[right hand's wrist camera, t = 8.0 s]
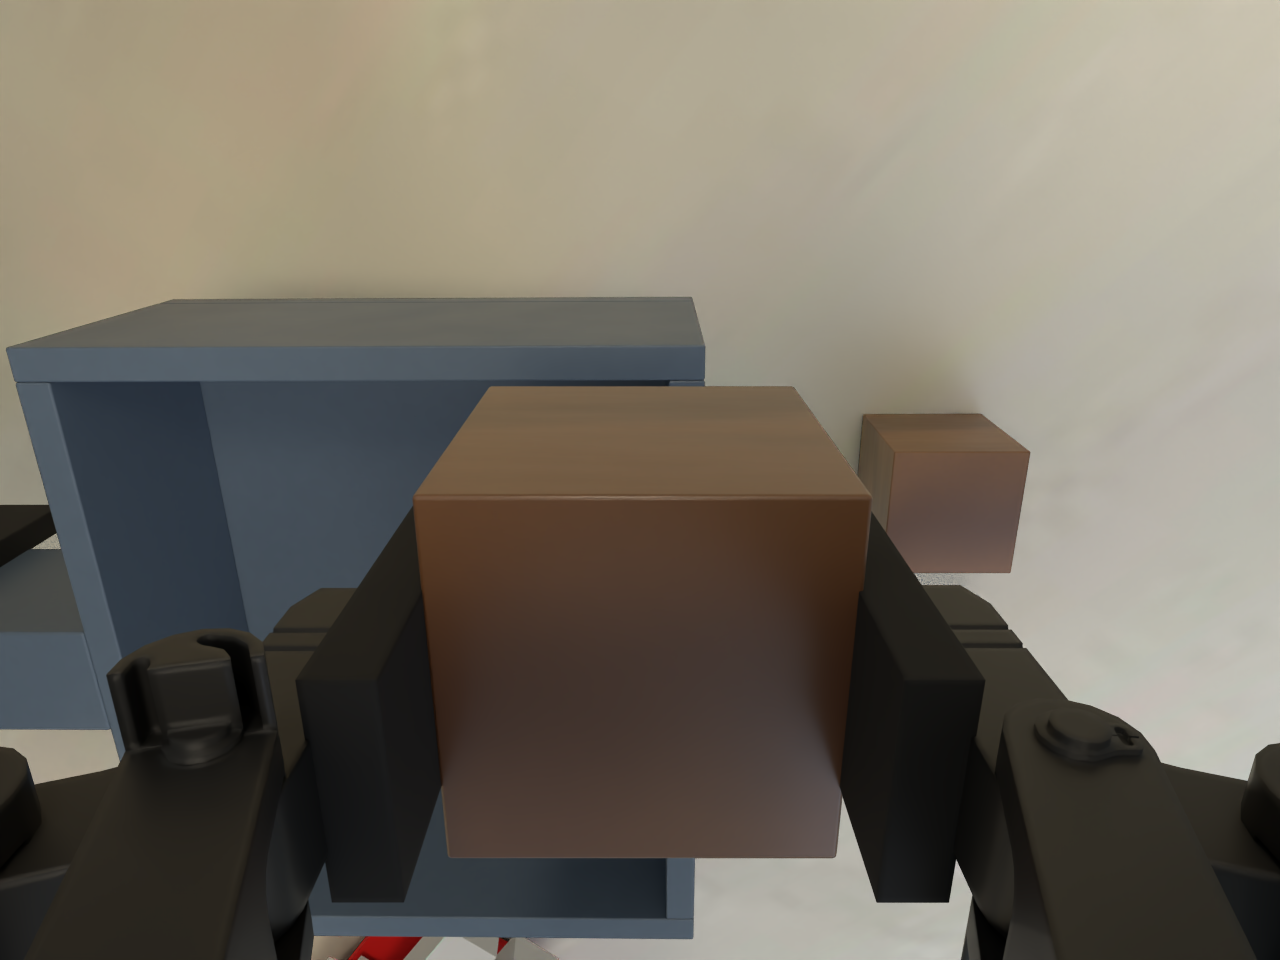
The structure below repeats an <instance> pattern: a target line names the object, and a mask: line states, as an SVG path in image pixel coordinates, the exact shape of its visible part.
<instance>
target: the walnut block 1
mask: <svg viewBox="0 0 1280 960" xmlns="http://www.w3.org/2000/svg"><path fill="white" fill-rule="evenodd" d="M412 501H413V511H414V521H415V531H416V542H417V552H418V562H419V572H420V582H421V590H422V596H423V606H424V616H425V627H426V637H427V647H428V657H429V667H430V677H431V687H432V697H433V707H434V718H435V728H436V738H437V748H438V758H439V768H440V778H441V794H442V805H443V815H444V825H445V835H446V845H447V854H448V856H449V857H450V858H834V857H835V856H836V853H837V844H838V834H839V825H840V815H841V805H842V793H841V790H840V779H841V768H842V758H843V748H844V738H845V728H846V718H847V708H848V698H849V688H850V678H851V668H852V658H853V648H854V638H855V628H856V618H857V608H858V598H859V591H863V589H864V579H865V569H866V560H867V550H868V540H869V530H870V520H871V511H872V501H873V499H872V496H871V494H870V493H869V491H868V490H867V489H866V487H865V486H864V484H863V483H862V482H861V480H860V479H859V477H858V476H857V475H856V473H855V472H854V470H853V469H852V468H851V466H850V465H849V463H848V462H847V461H846V459H845V458H844V456H843V455H842V454H841V452H840V451H839V449H838V448H837V447H836V445H835V444H834V442H833V441H832V440H831V438H830V437H829V435H828V434H827V433H826V431H825V430H824V429H823V427H822V426H821V424H820V423H819V422H818V420H817V419H816V417H815V416H814V415H813V413H812V412H811V410H810V409H809V408H808V406H807V405H806V403H805V402H804V401H803V399H802V398H801V396H800V395H799V394H798V392H797V391H796V389H795V388H794V387H792V386H491V387H489V388H488V390H487V391H486V393H485V394H484V395H483V397H482V398H481V400H480V401H479V403H478V404H477V405H476V407H475V408H474V410H473V411H472V413H471V414H470V415H469V417H468V418H467V420H466V421H465V423H464V424H463V425H462V427H461V428H460V430H459V431H458V433H457V434H456V435H455V437H454V438H453V440H452V441H451V443H450V444H449V445H448V447H447V448H446V450H445V451H444V452H443V454H442V455H441V457H440V458H439V460H438V461H437V462H436V464H435V465H434V467H433V468H432V470H431V471H430V472H429V474H428V475H427V477H426V478H425V480H424V481H423V482H422V484H421V485H420V487H419V488H418V490H417V491H416V492H415V494H414V495H413V498H412Z"/></svg>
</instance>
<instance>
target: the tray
mask: <svg viewBox="0 0 1280 960" xmlns="http://www.w3.org/2000/svg"><path fill="white" fill-rule="evenodd" d="M6 352H7V355H8V359H9V362H10V366H11V370H12V373H13V377H14V380H15V382H17V383H16V387H17V391H18V394H19V398H20V402H21V405H22V409H23V413H24V416H25V420H26V423H27V427H28V431H29V434H30V438H31V442H32V445H33V449H34V452H35V456H36V460H37V463H38V467H39V470H40V474H41V478H42V481H43V485H44V489H45V492H46V496H47V499H48V503H49V507H50V510H51V514H52V517H53V521H54V525H55V528H56V532H57V536H58V539H59V543H60V546H61V549H29V550H27V551H26V552H24V553H23V554H21V555H19V556H18V557H16V558H15V559H13V560H11V561H10V562H8V563H6V564H5V565H3V566H2V567H0V729H47V730H108V729H111V731H112V734H113V738H114V742H115V745H116V749H117V753H118V756H119V760H120V761H121V759H122V757H123V755H124V753H125V748H124V744H123V740H122V736H121V732H120V728H119V724H118V721H117V717H116V713H115V709H114V705H113V701H112V697H111V693H110V689H109V685H108V681H107V677H106V674H107V673H108V672H109V671H110V670H111V669H112V668H113V667H114V666H115V665H116V664H117V663H118V662H119V661H120V660H121V659H122V658H124V657H126V656H127V655H129V654H131V653H132V652H134V651H136V650H138V649H139V648H141V647H143V646H144V645H147V644H150V643H152V642H155V641H158V640H161V639H163V638H166V637H169V636H172V635H175V634H180V633H185V632H190V631H195V630H200V629H221V628H231V629H235V630H240V631H245V632H249V633H251V634H253V635H254V636H255V637H257V638H258V639H259V640H261V641H262V642H263V641H264V639H265V638H266V637H267V636H268V634H269V633H273V628H274V627H275V625H276V624H277V623H278V622H279V620H280V619H281V618H282V617H283V615H284V614H285V613H286V612H287V610H288V609H289V608H290V607H291V606H292V605H294V604H296V603H297V602H299V601H300V600H302V599H304V598H305V597H307V596H309V595H310V594H312V593H313V592H315V591H317V590H318V589H320V588H358V586H359V585H360V583H361V582H362V580H363V579H364V577H365V576H366V574H367V573H368V571H369V570H370V568H371V567H372V565H373V564H374V562H375V561H376V559H377V558H378V556H379V555H380V554H381V552H382V551H383V549H384V548H385V546H386V545H387V543H388V542H389V540H390V539H391V537H392V536H393V534H394V533H395V531H396V530H397V528H398V527H399V525H400V524H401V522H402V521H403V519H404V518H405V516H406V515H407V514H408V512H409V511H410V509H411V508H412V506H413V501H412V498H413V495H414V494H415V492H416V491H417V490H418V488H419V487H420V485H421V484H422V482H423V481H424V480H425V478H426V477H427V475H428V474H429V472H430V471H431V470H432V468H433V467H434V465H435V464H436V462H437V461H438V460H439V458H440V457H441V455H442V454H443V452H444V451H445V450H446V448H447V447H448V445H449V444H450V443H451V441H452V440H453V438H454V437H455V435H456V434H457V433H458V431H459V430H460V428H461V427H462V425H463V424H464V423H465V421H466V420H467V418H468V417H469V415H470V414H471V413H472V411H473V410H474V408H475V407H476V405H477V404H478V403H479V401H480V400H481V398H482V397H483V395H484V394H485V393H486V391H487V390H488V388H489V387H491V386H705V382H704V378H705V344H704V340H703V336H702V333H701V329H700V325H699V322H698V318H697V314H696V310H695V307H694V303H693V300H692V297H583V298H374V299H173V300H170V301H166V302H163V303H160V304H156V305H152V306H149V307H145V308H142V309H138V310H135V311H131V312H128V313H124V314H121V315H118V316H114V317H111V318H107V319H104V320H100V321H97V322H93V323H90V324H86V325H83V326H80V327H76V328H73V329H69V330H66V331H62V332H59V333H55V334H52V335H48V336H45V337H42V338H38V339H35V340H31V341H28V342H24V343H21V344H17V345H14V346H10V347H7V348H6ZM694 877H695V858H450V857H449V856H448V854H447V845H446V835H445V825H444V815H443V805H442V794H441V789H440V792H439V795H438V798H437V801H436V804H435V808H434V811H433V814H432V817H431V820H430V823H429V826H428V829H427V832H426V836H425V839H424V842H423V845H422V848H421V851H420V854H419V857H418V860H417V863H416V867H415V870H414V873H413V876H412V879H411V882H410V885H409V888H408V891H407V895H406V898H405V901H404V903H332V901H331V895H330V889H329V883H328V877H327V871H326V864H325V863H324V865H323V867H322V870H321V872H320V874H319V876H318V878H317V881H316V883H315V885H314V887H313V890H312V892H311V894H310V896H309V898H308V900H309V906H310V912H311V917H312V925H313V932H314V936H398V937H510V938H622V939H693V926H694Z"/></svg>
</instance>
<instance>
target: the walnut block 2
mask: <svg viewBox="0 0 1280 960" xmlns="http://www.w3.org/2000/svg"><path fill="white" fill-rule="evenodd" d="M1029 457H1030V451H1028V450H1027V449H1026V448H1025V447H1023V446H1022V445H1021V444H1019V443H1018V442H1017V441H1016V440H1014V439H1013V438H1012V437H1010V436H1009V435H1008V434H1007V433H1005V432H1004V431H1003V430H1001V429H1000V428H999V427H997V426H996V425H995V424H994V423H992V422H991V421H990V420H988V419H987V418H986V417H985V416H983V415H982V414H864V415H863V423H862V434H861V445H860V457H859V468H858V477H859V479H860V480H861V482H862V483H863V484H864V486H865V487H866V489H867V490H868V491H869V493H870V494H871V496H872V499H873V501H872V512H873V514H874V515H875V517H876V518H877V520H878V521H879V523H880V524H881V526H882V527H883V529H884V530H885V532H886V533H887V535H888V536H889V538H890V539H891V541H892V542H893V544H894V545H895V547H896V548H897V550H898V551H899V552H900V554H901V555H902V557H903V558H904V560H905V561H906V563H907V564H908V566H909V567H910V569H911V570H912V572H913V573H1010V572H1011V566H1012V560H1013V554H1014V548H1015V542H1016V536H1017V530H1018V524H1019V518H1020V512H1021V506H1022V500H1023V494H1024V487H1025V481H1026V475H1027V469H1028V463H1029Z"/></svg>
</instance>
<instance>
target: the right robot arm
mask: <svg viewBox="0 0 1280 960" xmlns="http://www.w3.org/2000/svg"><path fill="white" fill-rule="evenodd" d="M1022 644H1023V643H1022V642H1021V641H1020V640H1019V638H1018V637H1017V636H1016V635H1015V633H1014V632H1013V631H1012V630H1008V625H1007V624H1006V622H1005V621H1004V620H1003V619H1002V617H1001V616H1000V615H999V614H998V612H997V611H996V610H995V609H994V607H993V606H992V605H991V604H990V603H989V602H987V601H985V600H984V599H982V598H980V597H979V596H977V595H975V594H974V593H972V592H971V591H969V590H967V589H966V588H964V587H962V586H961V585H921V584H920V582H919V581H918V579H917V578H916V576H915V575H914V573H913V572H912V570H911V569H910V567H909V566H908V564H907V563H906V561H905V560H904V558H903V557H902V555H901V554H900V552H899V551H898V550H897V548H896V547H895V545H894V544H893V542H892V541H891V539H890V538H889V536H888V535H887V533H886V532H885V530H884V529H883V527H882V526H881V524H880V523H879V521H878V520H877V518H876V517H875V515H874V514H873V512H872V511H871V520H870V530H869V540H868V550H867V560H866V569H865V579H864V589H863V591H859V598H858V608H857V618H856V628H855V638H854V648H853V658H852V668H851V678H850V688H849V698H848V708H847V718H846V728H845V738H844V748H843V758H842V768H841V779H840V790H841V793H842V796H843V799H844V802H845V805H846V809H847V812H848V815H849V818H850V821H851V824H852V827H853V830H854V833H855V837H856V840H857V843H858V846H859V849H860V852H861V855H862V858H863V861H864V865H865V868H866V871H867V874H868V877H869V880H870V883H871V886H872V889H873V893H874V896H875V899H876V902H877V903H949V899H950V893H951V887H952V881H953V875H954V869H955V863H956V860H957V862H958V864H959V866H960V868H961V870H962V873H963V875H964V877H965V879H966V881H967V884H968V886H969V888H970V890H971V892H972V894H973V895H972V900H971V906H970V912H969V917H968V923H967V929H966V934H965V940H964V946H963V951H962V957H961V960H1280V743H1278V744H1271V745H1268V746H1266V747H1265V748H1264V749H1262V750H1261V751H1260V752H1259V753H1257V754H1256V756H1255V759H1254V762H1253V765H1252V769H1251V772H1250V775H1249V779H1248V781H1245V780H1240V779H1235V778H1230V777H1225V776H1220V775H1215V774H1210V773H1205V772H1200V771H1195V770H1190V769H1185V768H1180V767H1176V766H1172V765H1168V764H1164V763H1161V762H1160V760H1159V758H1158V756H1157V754H1156V752H1155V750H1154V749H1153V747H1152V746H1151V745H1150V744H1149V742H1148V741H1147V740H1146V739H1145V737H1144V736H1143V735H1142V734H1141V733H1140V732H1139V731H1137V730H1136V729H1135V728H1133V727H1132V726H1130V725H1129V724H1127V723H1126V722H1124V721H1123V720H1122V719H1120V718H1119V717H1116V716H1114V715H1112V714H1109V713H1107V712H1105V711H1102V710H1100V709H1098V708H1095V707H1093V706H1090V705H1086V704H1081V703H1077V702H1073V701H1068V699H1067V698H1066V697H1065V696H1064V694H1063V693H1062V692H1061V691H1060V689H1059V688H1058V687H1057V686H1056V684H1055V683H1054V682H1053V681H1052V679H1051V678H1050V677H1049V676H1048V674H1047V673H1046V672H1045V671H1044V670H1043V668H1042V667H1041V666H1040V665H1039V663H1038V662H1037V661H1036V660H1035V658H1034V657H1033V656H1032V655H1031V653H1030V652H1029V651H1028V650H1027V648H1023V646H1022ZM106 677H107V681H108V685H109V689H110V693H111V697H112V701H113V705H114V709H115V713H116V717H117V721H118V724H119V728H120V732H121V736H122V740H123V744H124V748H125V753H124V755H123V757H122V759H121V761H120V763H119V765H118V767H115V768H112V769H108V770H104V771H100V772H95V773H90V774H85V775H80V776H75V777H70V778H65V779H60V780H55V781H50V782H45V783H40V784H35V785H34V782H33V779H32V776H31V772H30V769H29V766H28V762H27V759H26V758H25V757H24V756H22V755H21V754H20V753H19V752H17V751H16V750H15V749H13V748H6V747H0V960H311V955H312V947H313V939H314V932H313V925H312V917H311V912H310V906H309V900H308V898H309V896H310V894H311V892H312V890H313V887H314V885H315V883H316V881H317V878H318V876H319V874H320V872H321V870H322V867H323V865H324V863H325V864H326V871H327V877H328V883H329V889H330V895H331V901H332V903H404V901H405V898H406V895H407V891H408V888H409V885H410V882H411V879H412V876H413V873H414V870H415V867H416V863H417V860H418V857H419V854H420V851H421V848H422V845H423V842H424V839H425V836H426V832H427V829H428V826H429V823H430V820H431V817H432V814H433V811H434V808H435V804H436V801H437V798H438V795H439V792H440V789H441V778H440V768H439V758H438V748H437V738H436V728H435V718H434V707H433V697H432V687H431V677H430V667H429V657H428V647H427V637H426V627H425V616H424V606H423V596H422V590H421V582H420V572H419V562H418V552H417V542H416V531H415V521H414V511H413V506H412V508H411V509H410V511H409V512H408V514H407V515H406V516H405V518H404V519H403V521H402V522H401V524H400V525H399V527H398V528H397V530H396V531H395V533H394V534H393V536H392V537H391V539H390V540H389V542H388V543H387V545H386V546H385V548H384V549H383V551H382V552H381V554H380V555H379V556H378V558H377V559H376V561H375V562H374V564H373V565H372V567H371V568H370V570H369V571H368V573H367V574H366V576H365V577H364V579H363V580H362V582H361V583H360V585H359V586H358V588H320V589H318V590H317V591H315V592H313V593H312V594H310V595H309V596H307V597H305V598H304V599H302V600H300V601H299V602H297V603H296V604H294V605H292V606H291V607H290V608H289V609H288V610H287V612H286V613H285V614H284V615H283V617H282V618H281V619H280V620H279V622H278V623H277V624H276V625H275V627H274V628H273V633H269V634H268V636H267V637H266V638H265V639H264V641H263V642H262V641H261V640H259V639H258V638H257V637H255V636H254V635H253V634H251V633H249V632H245V631H240V630H235V629H231V628H221V629H200V630H195V631H190V632H185V633H180V634H175V635H172V636H169V637H166V638H163V639H161V640H158V641H155V642H152V643H150V644H147V645H144V646H143V647H141V648H139V649H138V650H136V651H134V652H132V653H131V654H129V655H127V656H126V657H124V658H122V659H121V660H120V661H119V662H118V663H117V664H116V665H115V666H114V667H113V668H112V669H111V670H110V671H109V672H108V673H107V674H106Z"/></svg>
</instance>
